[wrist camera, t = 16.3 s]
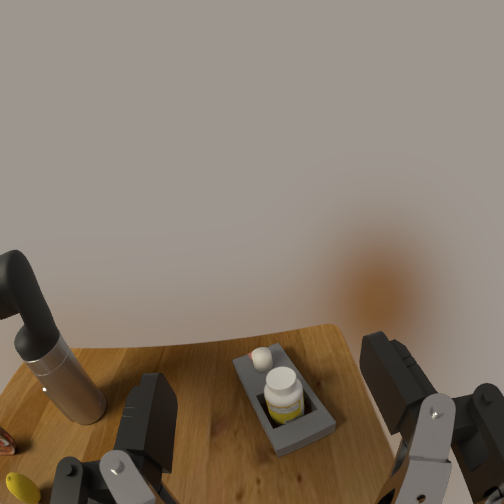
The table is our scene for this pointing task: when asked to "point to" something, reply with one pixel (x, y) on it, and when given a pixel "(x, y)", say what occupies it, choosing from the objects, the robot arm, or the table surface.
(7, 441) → the tin
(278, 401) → the supplement bottle
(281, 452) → the grey square-hole tray
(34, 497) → the lemon
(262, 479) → the table surface
